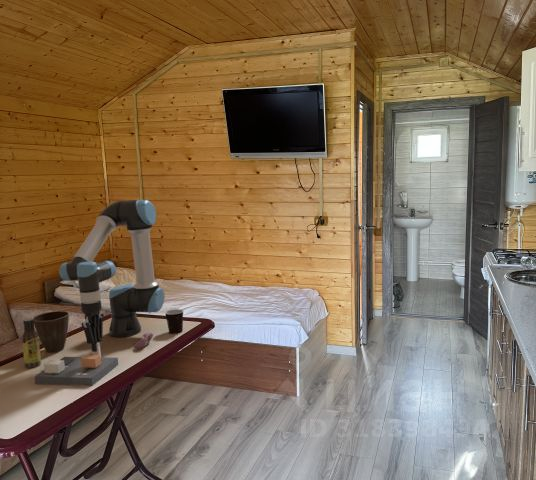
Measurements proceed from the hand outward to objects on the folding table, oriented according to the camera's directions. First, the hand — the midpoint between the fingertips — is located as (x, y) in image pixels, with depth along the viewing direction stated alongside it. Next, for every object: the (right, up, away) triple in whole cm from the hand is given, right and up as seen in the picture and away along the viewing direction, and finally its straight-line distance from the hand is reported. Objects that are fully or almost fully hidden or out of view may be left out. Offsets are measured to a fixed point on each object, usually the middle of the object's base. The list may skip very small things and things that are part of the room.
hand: (97, 358), depth 203 cm
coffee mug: (+24, +2, +42) cm, 48 cm away
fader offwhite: (-14, -3, -8) cm, 16 cm away
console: (-7, -5, -3) cm, 9 cm away
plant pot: (-28, -3, +27) cm, 39 cm away
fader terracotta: (-1, -2, -4) cm, 5 cm away
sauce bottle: (-30, -5, +9) cm, 31 cm away
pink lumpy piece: (+13, -1, +25) cm, 28 cm away
